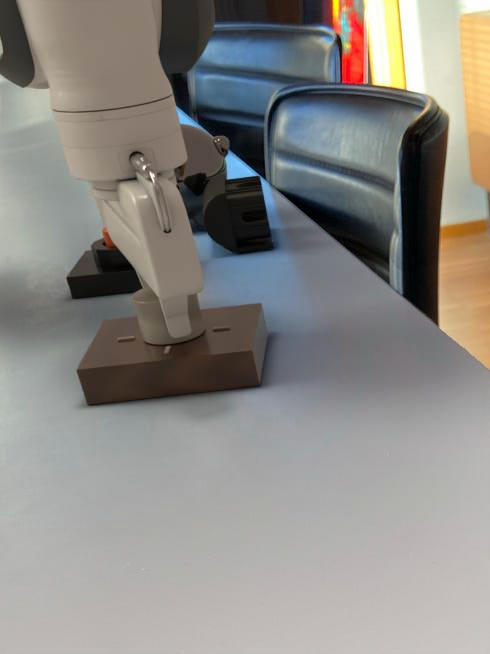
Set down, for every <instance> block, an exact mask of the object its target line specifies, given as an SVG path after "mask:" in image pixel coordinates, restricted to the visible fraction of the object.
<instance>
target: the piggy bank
mask: <svg viewBox="0 0 490 654" xmlns="http://www.w3.org/2000/svg"><path fill="white" fill-rule="evenodd" d="M180 126H181V130H182V134H183V139H184V143H185V148H186V152H187V157H188V159H187V161H186V162H185V163H184V164H183V165H181V166H179V167H177V168H174V175H175V177H176V181H177V185H176V187H177V189H178V190H179V192H180V195H181V197H182V200H183V203H184V206H185V209H186V212H187V216H188V219H189V221H191V220H192V222H193V224H194V225H195V227H196V228H197V229H199V230H205V227H204V224H203V193H204V190H205V187H206V185H207V183H208V182H209V181H210V180H211V179H212V178H213V177H215V176H217V175H219V174H223V173H224V174H225V179H228V165H227V161H226V158H227V157H228V155H229V149H230V139H229V138H228V137H226V136H225V135H216V136H212V135H211V134H210V133H209V132H207V131H205V130H204V129H202V128H200V127H197V126H195V125H193V124H187V123H180Z"/></svg>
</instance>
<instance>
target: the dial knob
mask: <svg viewBox="0 0 490 654" xmlns="http://www.w3.org/2000/svg"><path fill="white" fill-rule="evenodd" d="M187 300H188V316H189V321H190V325H191V329H192V331H191V333H190V335H188V336H184V337H180V338H173V337H171V336H170V334H169V333H168V331H167V330H166V327H165V323H164V319H163V316H162V313H163V311H162V308H161V304H160V300H159V297H158V296H157V295H156V294H155V293H154V291H153V290H152V289H151V288H150V286H149V287H146V288H143V289H141V290H139V291H137V292H133V294H132V295H131V301H132V305H133V309H134V312H135V317H136V316H137V320H138V323H139V327H140V331H141V334H142V338H143V340H144V341H145V342H147V343H150V344H157V345H166V344H175V343H180V342H184V341H188V340H191V339H193V338H196V337H198V336H199V335H201V334H202V333H203V332H204V331H205V326H204V321H203V317H202V313H201V305H200V301H199V297H198V293H197V294H193V295H188V296H187Z"/></svg>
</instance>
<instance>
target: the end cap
mask: <svg viewBox="0 0 490 654" xmlns="http://www.w3.org/2000/svg"><path fill="white" fill-rule="evenodd" d="M203 224H204V227H205V229H204V230H205V232H206V234H207V235H208V237H209V238H210V239H211V240H212V241H213V242H214V243H215V244H216V245H218V246H220V247H223V249H225V250H227V251H229V252H231V253H233V254H245V253H246V254H247V253H253V252H254V253H255V252H261V251H267V250H272V249H274V242H273V238H272V237H273V236H272V232H271V226H270V221H269V216H268V211H267V205H266V200H265V195H264V190H263V184H262V178H261V175H252V176H244V177H243V176H242V177H235V178H227V179H225V174H224V173H223V174H219V175H217V176H215V177H213V178H212V179H211V180H210V181H209V182H208V183H207V185H206V187H205V190H204V193H203Z"/></svg>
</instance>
